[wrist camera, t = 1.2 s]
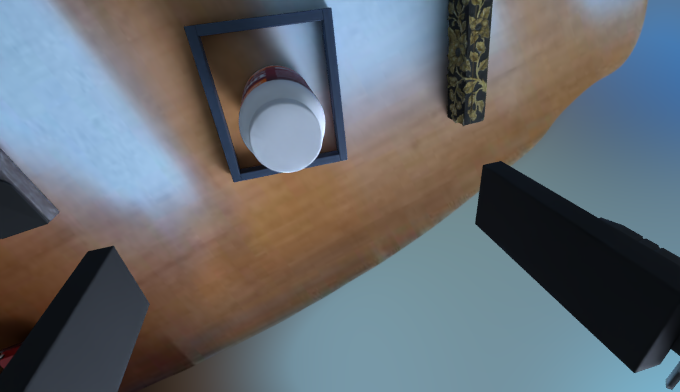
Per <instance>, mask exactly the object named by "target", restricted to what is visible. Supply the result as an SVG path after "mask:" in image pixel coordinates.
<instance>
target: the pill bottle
mask: <svg viewBox="0 0 680 392" xmlns="http://www.w3.org/2000/svg"><path fill="white" fill-rule="evenodd" d="M239 129H240V133H241V136H242V139H243V141H244V143H245V145H246V146H247V148H248V149H249V150H250V151H251V152H252V153H253V154H254V155H255V157H256V158H257V159H258V161H259V162H260V163H261V164H263V165H264V166H266V167H267V168H269V169H271V170H274V171H277V172H284V173H289V172H295V171H298V170H301V169H303V168H305V167H307V166H308V165H310V164H311V163H312V162H313V161H314V160H315V159H316V157H317V156H318V154H319V152H320V150H321V147H322V141H323V137H324V133H325V116H324V111H323V109H322V106H321V104H320V102H319V101H318V99H317V97H316V96H315V95H314V93H313V92H312V90H311V89H310V88H309V86H308V85H307V83H306V82H305V80H304V79H303V78H302V77H301V76H300V75H299V74H298V73H296V72H295V71H293V70H292V69H290V68H287V67H284V66H277V65H274V66H267V67H264V68H262V69H260V70H258V71H256V72H255V73H254V74H253V75H252V76H251V77H250V78H249V80H248V81H247V83H246V85H245V88H244V91H243V96H242V102H241V107H240V112H239Z"/></svg>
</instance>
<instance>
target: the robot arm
mask: <svg viewBox="0 0 680 392" xmlns="http://www.w3.org/2000/svg"><path fill="white" fill-rule="evenodd" d="M475 224H476V225H477V226H478V227H479V228H480V229H481V230H482V231H483V232H485V233H486V234H487V235H488V236H489V237H490V238H491V239H492V240H493V241H494V242H495V243H497V245H498V246H499V247H501V248H502V249H503V250H504V251H505V252H506V253H507V254H508V255H509V256H510V257H511V258H512V259H514V261H515V262H517V263H518V264H519V265H520V266H521V267H522V268H523V269H524V270H525V271H526V272H527V273H528V274H529V275H531V277H533V278H534V279H535V280H536V281H537V282H538V283H539V284H540V285H541V286H542V287H543V288H544V289H545V290H546V291H547V292H549V293H550V294H551V295H552V296H553V297H554V298H555V299H556V300H557V301H558V302H559V303H560V304H561V305H562V306H564V308H565V309H567V310H568V311H569V312H570V313H571V314H572V315H573V316H574V317H575V318H576V319H577V320H578V321H579V322H580V323H581V324H583V325H584V326H585V327H586V328H587V329H588V330H589V331H590V332H591V333H592V334H593V335H594V336H595V337H596V338H597V339H599V340H600V341H601V342H602V343H603V344H604V345H605V346H606V347H607V348H608V349H609V350H610V351H611V352H612V353H613V354H615V355H616V356H617V357H618V358H619V359H620V360H621V361H622V362H623V363H624V364H625V365H626V366H627V367H628V368H629V369H630V370H632V371H633V372H634V373H636V372H639V371H642V370H645V369H648V368H651V367H654V366H656V365H659V364H660V363H661V362H662V361H663V359H664V358H665V356H666V355H667V354H668V352H669V350H670V349H672V350H673V351H674V352H676V353H677V354H678V355H679V356H680V257H678V256H676V255H675V254H673V253H671V252H669V251H667V250H666V249H664V248H659V246H658V245H657V244H655V243H653V242H652V241H649V240H648V239H643V236H641V235H639V234H637V233H636V232H634V231H632V230H630V229H629V228H627V227H625V226H623V225H621V224H618V223H615V222H612V221H609V220H606V219H604V218H597V217H595V216H594V215H592V214H590V213H589V212H587V211H585V210H584V209H582V208H580V207H578V206H576V205H575V204H573V203H572V202H570V201H568V200H566V199H565V198H563V197H561V196H560V195H558V194H556V193H554V192H553V191H551V190H550V189H548V188H546V187H544V186H543V185H541V184H539V183H537V182H536V181H534V180H532V179H531V178H529V177H527V176H525V175H524V174H522V173H520V172H519V171H517V170H515V169H514V168H512V167H510V166H509V165H507V164H505V163H503V162H502V161H499V162H495V163H490V164H486V165H483V169H482V176H481V184H480V191H479V199H478V206H477V214H476V222H475ZM148 307H149V302H148V300H147V299H146V297H145V296H144V294H143V292H142V291H141V289H140V288H139V286H138V284H137V283H136V281H135V280H134V278H133V276H132V275H131V273H130V272H129V270H128V268H127V267H126V265H125V264H124V262H123V260H122V259H121V257H120V255H119V254H118V252H117V251H116V249H115V247H114V246H111V247H106V248H101V249H97V250H92V251H88V252H87V253H86V255H85V256H84V258H83V259H82V260H81V262H80V263H79V265H78V266H77V267H76V269H75V270H74V272H73V273H72V274H71V276H70V277H69V279H68V280H67V281H66V283H65V284H64V286H63V287H62V288H61V290H60V291H59V293H58V294H57V295H56V297H55V298H54V300H53V301H52V302H51V304H50V305H49V307H48V308H47V309H46V311H45V312H44V314H43V315H42V316H41V318H40V319H39V321H38V322H37V323H36V325H35V326H34V328H33V329H32V330H31V332H30V333H29V335H28V336H27V337H26V339H25V340H24V342H23V343H22V344H21V346H20V347H19V349H18V350H17V351H16V353H15V354H14V356H13V357H12V358H11V360H10V361H9V363H8V364H7V365H6V367H5V368H4V370H3V371H2V372H1V374H0V392H117V391H118V389H119V386H120V383H121V381H122V378H123V375H124V372H125V370H126V367H127V364H128V361H129V359H130V356H131V353H132V351H133V348H134V345H135V342H136V340H137V337H138V334H139V332H140V329H141V326H142V323H143V321H144V318H145V315H146V312H147V310H148ZM679 380H680V362H679V363H678V364H677V366H676V367H675V368H674V370H673V371H672V372H671V374H670V375H669V376H668V378H667V379H666V388H668V389H671V390H672V389H673V388H674V387H675V385H676V384H677V383H678V382H679Z"/></svg>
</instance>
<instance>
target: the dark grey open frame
mask: <svg viewBox="0 0 680 392" xmlns="http://www.w3.org/2000/svg"><path fill="white" fill-rule="evenodd" d="M319 20H321V25H322V33H323V41H324V49H325V57H326V65H327V73H328V81H329V90H330V98H331V106H332V114H333V122H334V130H335V138H336V146H337V150H336V151H331V152H326V153H321V154H318V156H317V157H316V159H315V160H314V161H313V162H312V163H311V164H310V165H308V166H307V167H305V168H308V167H313V166H318V165H323V164H328V163H333V162H338V161H343V160H347V150H346V141H345V131H344V122H343V112H342V103H341V94H340V84H339V75H338V65H337V56H336V47H335V37H334V28H333V19H332V9H331V8H324V9H316V10H308V11H300V12H293V13H285V14H277V15H269V16H261V17H253V18H246V19H238V20H230V21H222V22H214V23H207V24H199V25H191V26H184V29H185V32H186V35H187V38H188V41H189V45H190V48H191V51H192V54H193V57H194V60H195V63H196V66H197V69H198V73H199V76H200V79H201V82H202V85H203V88H204V91H205V94H206V97H207V101H208V104H209V107H210V110H211V113H212V116H213V119H214V122H215V126H216V129H217V132H218V135H219V138H220V141H221V144H222V147H223V150H224V154H225V157H226V160H227V163H228V166H229V169H230V172H231V175H232V179H233V182H238V181H243V180H248V179H253V178H258V177H263V176H268V175H273V174H278V173H283V172H277V171H274V170H271V169H269V168H267V167H266V166H264V165H259V166H254V167H248V168H243V169H240V167H239V163H238V160H237V157H236V153H235V150H234V147H233V143H232V140H231V137H230V133H229V130H228V127H227V123H226V120H225V117H224V114H223V110H222V107H221V104H220V100H219V97H218V94H217V90H216V87H215V84H214V80H213V77H212V74H211V70H210V67H209V64H208V60H207V57H206V54H205V51H204V47H203V44H202V41H201V37H200V36H207V35H214V34H222V33H229V32H237V31H244V30H252V29H259V28H267V27H274V26H282V25H289V24H297V23H304V22H312V21H319Z"/></svg>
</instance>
